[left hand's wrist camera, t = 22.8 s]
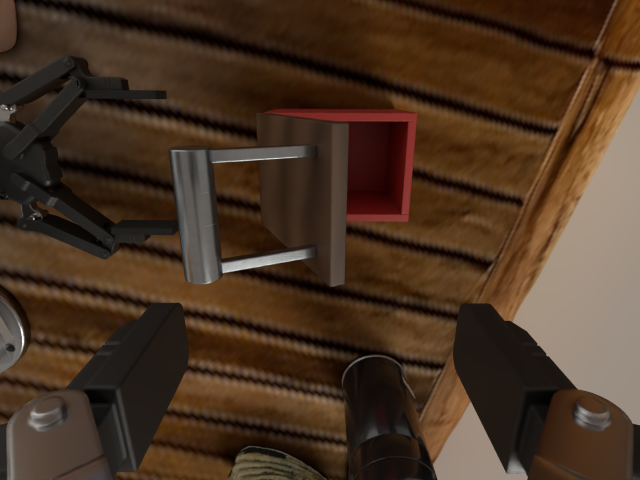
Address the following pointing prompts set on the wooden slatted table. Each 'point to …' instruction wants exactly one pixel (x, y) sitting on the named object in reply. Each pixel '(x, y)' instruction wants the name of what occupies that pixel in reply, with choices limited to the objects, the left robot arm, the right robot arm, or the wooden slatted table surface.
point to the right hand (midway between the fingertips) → (170, 165)
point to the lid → (270, 198)
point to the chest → (374, 159)
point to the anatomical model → (7, 25)
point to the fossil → (270, 466)
